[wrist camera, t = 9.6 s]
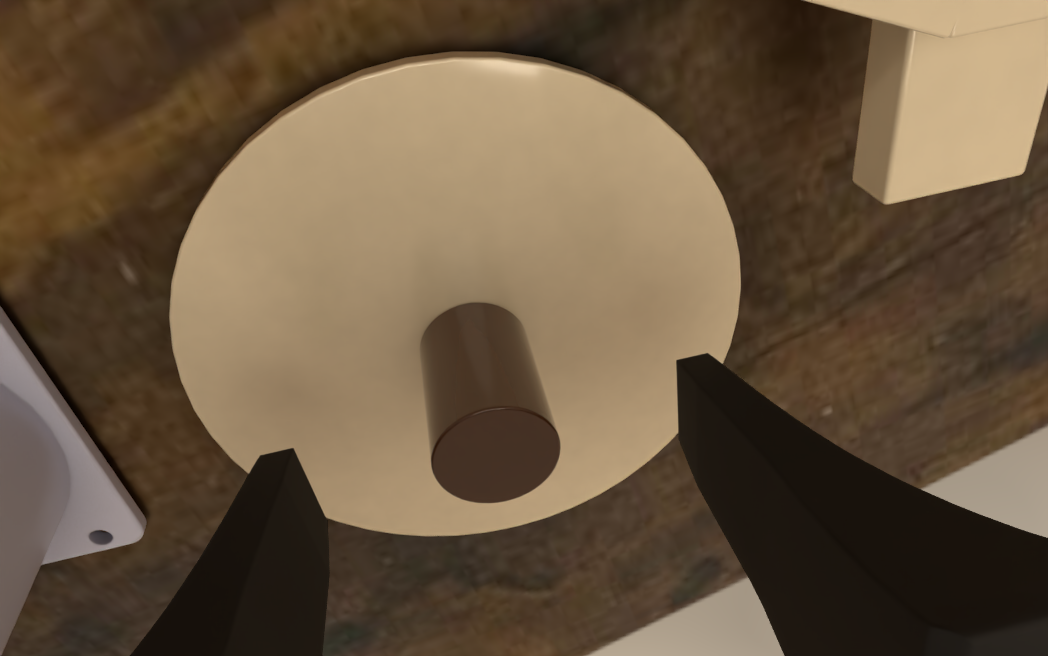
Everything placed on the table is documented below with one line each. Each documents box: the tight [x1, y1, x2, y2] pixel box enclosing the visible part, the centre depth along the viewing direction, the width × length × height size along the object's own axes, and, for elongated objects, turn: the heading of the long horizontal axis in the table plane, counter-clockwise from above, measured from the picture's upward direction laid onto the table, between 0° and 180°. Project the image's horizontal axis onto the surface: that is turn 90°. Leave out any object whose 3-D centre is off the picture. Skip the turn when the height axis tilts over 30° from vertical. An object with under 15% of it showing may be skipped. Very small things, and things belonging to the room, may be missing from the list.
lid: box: [169, 51, 741, 536], centre depth 15 cm, size 12×12×5 cm
